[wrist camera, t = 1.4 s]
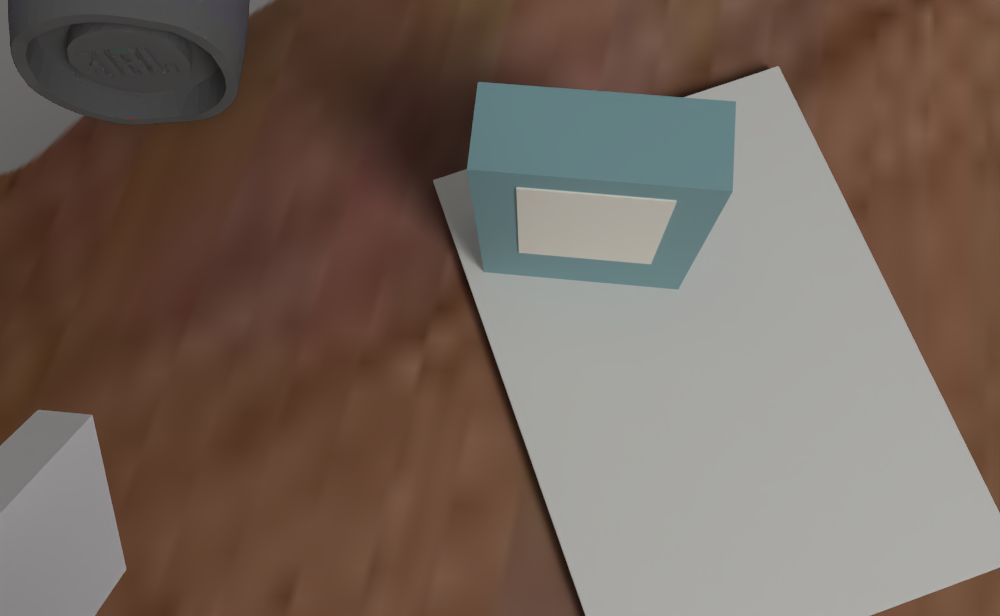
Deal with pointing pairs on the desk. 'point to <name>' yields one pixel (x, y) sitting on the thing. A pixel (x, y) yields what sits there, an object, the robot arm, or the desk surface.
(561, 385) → the mat
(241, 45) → the bluetooth speaker
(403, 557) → the desk surface
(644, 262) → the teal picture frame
